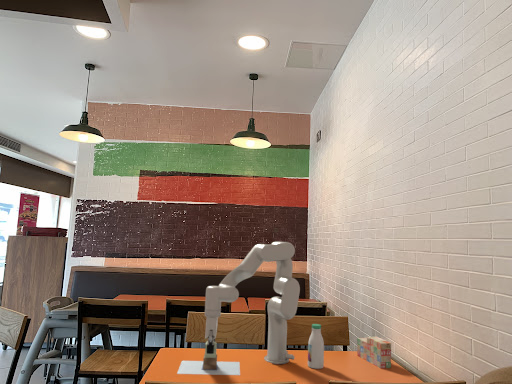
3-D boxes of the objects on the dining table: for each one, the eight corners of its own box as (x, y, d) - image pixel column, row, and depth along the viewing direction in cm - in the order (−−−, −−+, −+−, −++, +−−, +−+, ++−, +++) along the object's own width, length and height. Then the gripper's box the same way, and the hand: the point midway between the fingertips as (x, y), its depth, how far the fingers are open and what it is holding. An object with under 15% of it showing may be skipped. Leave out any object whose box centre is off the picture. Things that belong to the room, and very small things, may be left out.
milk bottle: (325, 365, 193) (326, 324, 195) (321, 370, 186) (322, 327, 188) (310, 363, 196) (311, 322, 198) (305, 367, 189) (306, 325, 191)
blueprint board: (239, 363, 191) (239, 361, 191) (240, 376, 173) (240, 374, 173) (182, 361, 190) (182, 360, 190) (176, 375, 172) (176, 373, 172)
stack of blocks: (356, 355, 213) (357, 332, 214) (366, 355, 214) (367, 332, 216) (380, 368, 192) (380, 343, 194) (391, 368, 194) (391, 342, 195)
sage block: (216, 354, 185) (216, 341, 185) (215, 357, 180) (216, 344, 180) (205, 354, 184) (206, 341, 185) (204, 357, 180) (205, 344, 180)
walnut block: (216, 365, 185) (217, 354, 185) (216, 369, 179) (216, 358, 179) (204, 365, 184) (204, 354, 185) (202, 369, 178) (203, 358, 179)
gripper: (206, 309, 193) (204, 345, 191) (203, 316, 176) (201, 356, 174) (221, 309, 193) (219, 345, 191) (220, 316, 176) (218, 356, 174)
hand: (210, 350), depth 182 cm, fingers open, 9 cm apart
